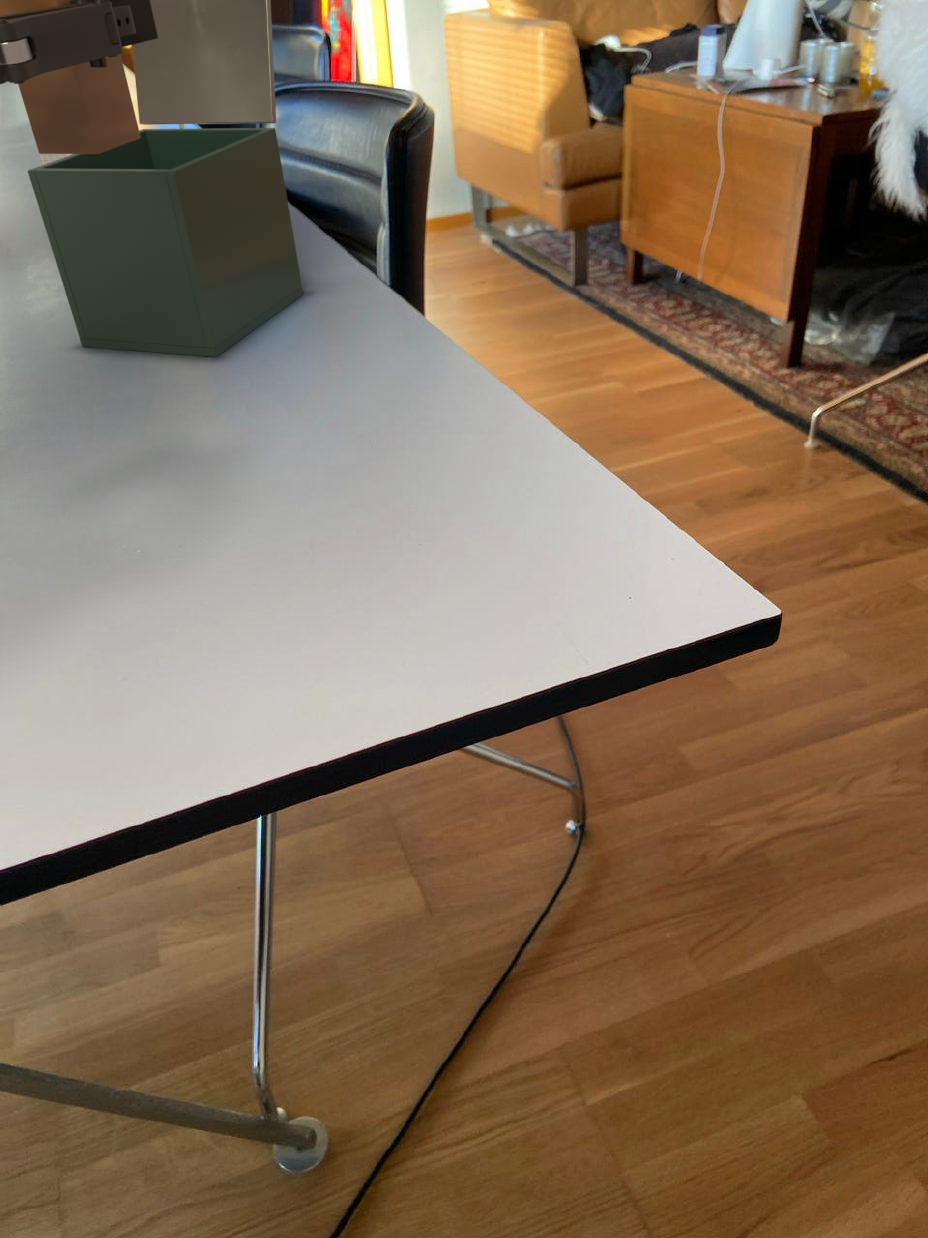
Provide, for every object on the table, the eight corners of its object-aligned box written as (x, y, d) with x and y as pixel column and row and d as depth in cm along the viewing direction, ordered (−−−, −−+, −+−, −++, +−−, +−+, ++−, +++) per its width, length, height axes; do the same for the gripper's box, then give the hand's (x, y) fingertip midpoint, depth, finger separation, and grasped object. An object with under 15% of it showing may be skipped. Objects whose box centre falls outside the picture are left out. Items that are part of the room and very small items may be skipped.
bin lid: (261, -110, 83) (265, -108, 83) (118, -96, 87) (123, -94, 88) (272, 122, 89) (276, 123, 90) (139, 123, 94) (143, 124, 95)
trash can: (216, 357, 87) (173, 171, 78) (82, 346, 91) (26, 170, 82) (303, 294, 99) (275, 127, 90) (181, 287, 104) (142, 128, 95)
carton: (38, 153, 61) (-27, -61, 55) (84, 137, 64) (28, -66, 58) (97, 154, 60) (38, -66, 53) (141, 137, 63) (90, -72, 56)
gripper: (-287, 166, 50) (23, 84, 67) (-18, 168, 44) (245, 78, 62) (-373, -9, 45) (-17, -48, 63) (-85, -30, 40) (219, -67, 57)
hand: (112, 15), depth 62 cm, fingers closed on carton, 4 cm apart
